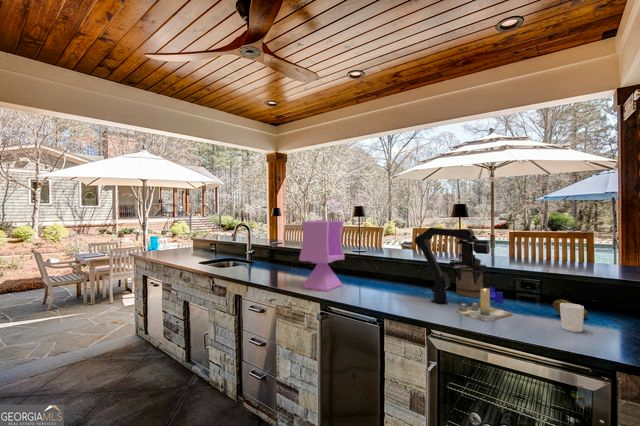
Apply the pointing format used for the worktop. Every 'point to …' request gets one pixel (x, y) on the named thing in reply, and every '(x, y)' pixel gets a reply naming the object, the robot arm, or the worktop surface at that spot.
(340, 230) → the purple pedestal chair
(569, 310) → the white cup
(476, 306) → the short steel spacers
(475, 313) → the grey flat square plate
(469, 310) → the board
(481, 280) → the wooden container
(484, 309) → the tall brass spacer
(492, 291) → the cable clip
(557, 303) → the potato
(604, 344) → the worktop surface
